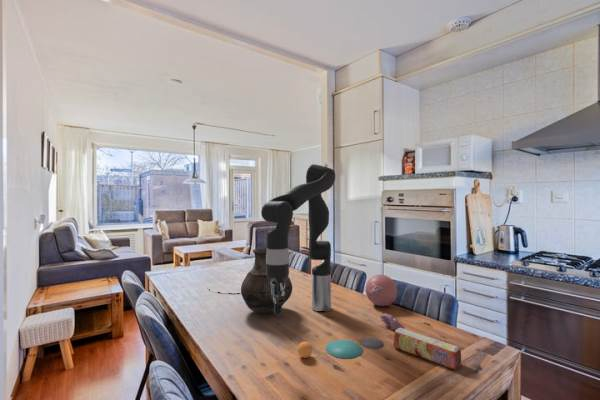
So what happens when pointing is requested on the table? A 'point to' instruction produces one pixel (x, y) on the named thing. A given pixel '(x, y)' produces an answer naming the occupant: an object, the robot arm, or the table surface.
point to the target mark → (344, 349)
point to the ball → (304, 349)
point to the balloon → (381, 290)
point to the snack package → (428, 348)
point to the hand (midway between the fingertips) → (277, 314)
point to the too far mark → (372, 343)
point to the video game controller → (391, 321)
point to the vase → (260, 286)
